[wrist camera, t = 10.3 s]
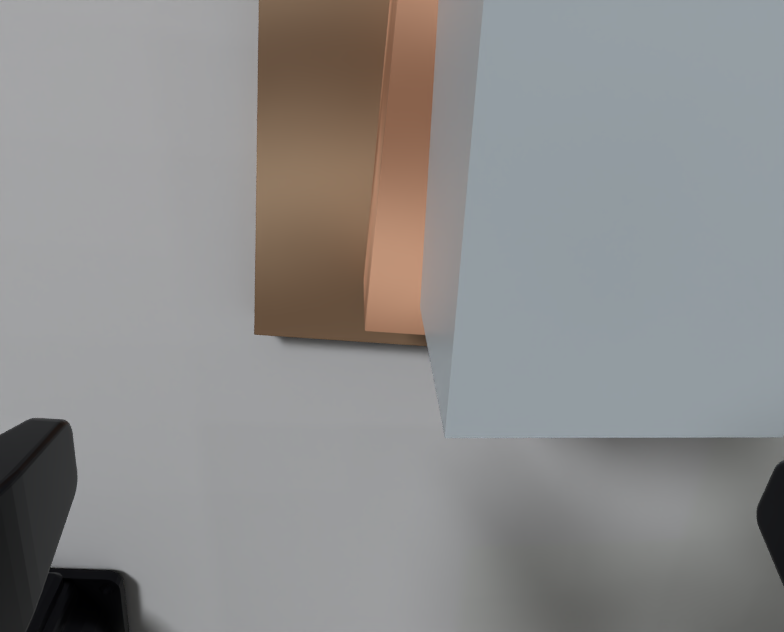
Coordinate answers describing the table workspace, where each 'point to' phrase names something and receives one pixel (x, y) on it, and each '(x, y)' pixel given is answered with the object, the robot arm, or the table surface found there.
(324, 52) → the tower base
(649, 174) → the grey brick
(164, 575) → the table surface
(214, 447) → the table surface
